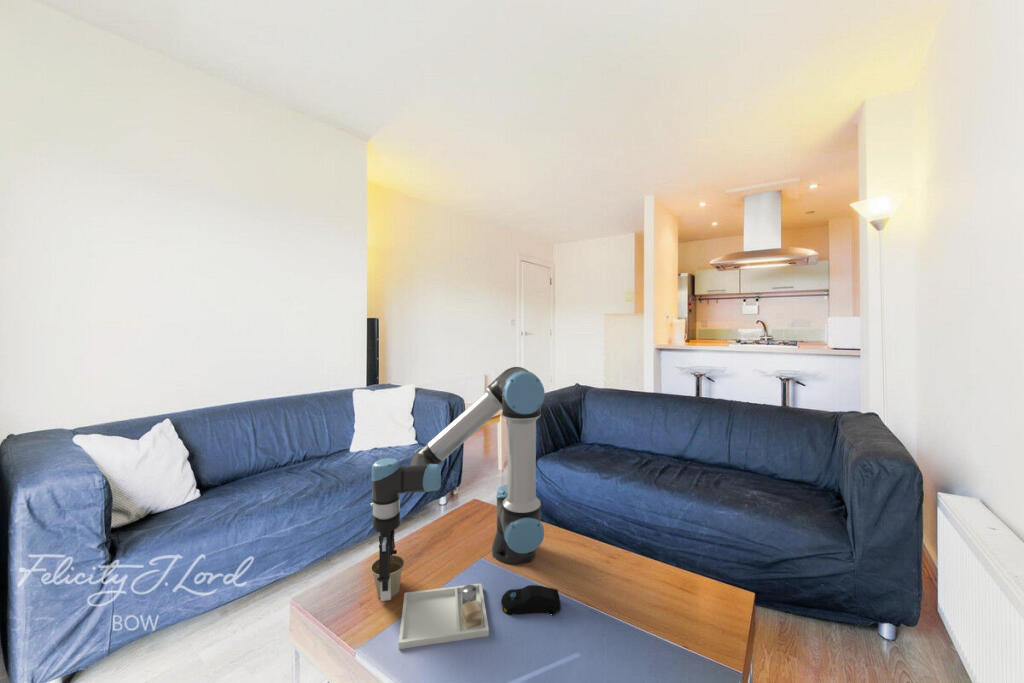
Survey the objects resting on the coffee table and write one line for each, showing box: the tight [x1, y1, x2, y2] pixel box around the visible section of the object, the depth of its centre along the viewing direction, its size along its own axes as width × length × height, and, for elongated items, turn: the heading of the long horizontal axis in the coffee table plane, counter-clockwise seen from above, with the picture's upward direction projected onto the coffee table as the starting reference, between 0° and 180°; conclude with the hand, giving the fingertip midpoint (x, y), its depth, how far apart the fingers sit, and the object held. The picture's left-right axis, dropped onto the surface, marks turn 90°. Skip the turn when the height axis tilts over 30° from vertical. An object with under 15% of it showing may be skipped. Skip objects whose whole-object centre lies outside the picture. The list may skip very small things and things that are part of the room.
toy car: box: [500, 584, 562, 616], centre depth 112 cm, size 8×17×5 cm, turn 93°
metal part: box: [462, 584, 476, 604], centre depth 113 cm, size 4×4×4 cm
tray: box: [397, 582, 490, 650], centre depth 108 cm, size 22×18×2 cm
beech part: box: [461, 600, 481, 630], centre depth 106 cm, size 4×4×4 cm
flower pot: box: [370, 554, 405, 600], centre depth 118 cm, size 9×9×9 cm
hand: (388, 587), depth 118 cm, fingers closed on flower pot, 9 cm apart
